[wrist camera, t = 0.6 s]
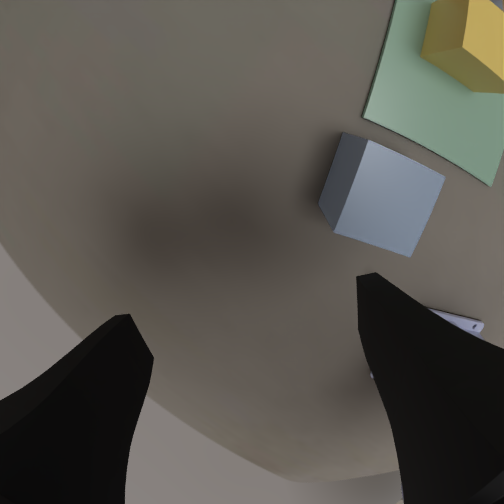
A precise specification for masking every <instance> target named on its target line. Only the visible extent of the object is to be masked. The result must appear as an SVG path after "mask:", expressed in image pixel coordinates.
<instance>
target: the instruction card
mask: <svg viewBox="0 0 504 504" xmlns="http://www.w3.org/2000/svg"><path fill="white" fill-rule="evenodd" d="M490 1H491V2H492V3H494V4H495V5H496V6H497V7H498V8H499V9H501V10H502V11H503V12H504V0H490Z"/></svg>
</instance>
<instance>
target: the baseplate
mask: <svg viewBox="0 0 504 504" xmlns="http://www.w3.org/2000/svg"><path fill="white" fill-rule="evenodd" d="M435 1H437V0H395V3H394V7H393V11H392V15H391V19H390V23H389V26H388V30H387V34H386V38H385V41H384V45H383V49H382V52H381V56H380V59H379V63H378V66H377V69H376V73H375V76H374V79H373V83H372V86H371V89H370V92H369V96H368V99H367V102H366V105H365V108H364V111H363V114H362V118H365V119H367V120H369V121H371V122H374V123H376V124H378V125H380V126H383V127H385V128H387V129H389V130H391V131H393V132H396V133H398V134H400V135H402V136H404V137H406V138H408V139H410V140H412V141H414V142H416V143H417V144H419V145H421V146H423V147H425V148H427V149H429V150H431V151H432V152H434V153H436V154H438V155H440V156H441V157H443V158H445V159H447V160H448V161H450V162H452V163H453V164H455V165H457V166H458V167H460V168H462V169H463V170H465V171H466V172H468V173H470V174H471V175H473V176H474V177H476V178H477V179H479V180H480V181H482V182H483V183H485V184H486V185H488V186H490V187H491V186H492V183H493V180H494V177H495V175H496V172H497V169H498V166H499V163H500V160H501V156H502V153H503V150H504V94H499V93H482V92H473V91H471V90H470V89H468V88H467V87H466V86H464V85H463V84H462V83H460V82H459V81H457V80H456V79H454V78H453V77H451V76H450V75H448V74H447V73H445V72H444V71H442V70H441V69H439V68H438V67H436V66H434V65H433V64H431V63H429V62H428V61H426V60H424V59H423V58H421V57H420V54H421V50H422V46H423V42H424V38H425V33H426V29H427V24H428V19H429V14H430V9H431V4H432V3H433V2H435Z"/></svg>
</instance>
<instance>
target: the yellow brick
mask: <svg viewBox="0 0 504 504" xmlns="http://www.w3.org/2000/svg"><path fill="white" fill-rule="evenodd" d="M420 57H421V58H423V59H424V60H426V61H428V62H429V63H431V64H433V65H434V66H436V67H438V68H439V69H441V70H442V71H444V72H445V73H447V74H448V75H450V76H451V77H453V78H454V79H456V80H457V81H459V82H460V83H462V84H463V85H464V86H466V87H467V88H468V89H470V90H471V91H473V92H482V93H499V94H504V12H503V11H502V10H501V9H499V8H498V7H497V6H496V5H495V4H494V3H492V2H491V1H490V0H437V1H435V2H433V3H432V4H431V9H430V14H429V19H428V24H427V29H426V33H425V38H424V42H423V46H422V50H421V54H420Z"/></svg>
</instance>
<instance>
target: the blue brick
mask: <svg viewBox="0 0 504 504" xmlns="http://www.w3.org/2000/svg"><path fill="white" fill-rule="evenodd" d="M444 180H445V176H443V175H441V174H439V173H437V172H435V171H433V170H432V169H430V168H428V167H426V166H424V165H422V164H420V163H418V162H416V161H414V160H412V159H410V158H408V157H406V156H404V155H401V154H399V153H397V152H395V151H393V150H391V149H389V148H386V147H384V146H382V145H380V144H377V143H375V142H373V141H370V140H368V139H364V138H361V137H358V136H354V135H351V134H347V133H344V132H343V133H342V136H341V139H340V142H339V145H338V148H337V151H336V154H335V157H334V160H333V163H332V165H331V168H330V171H329V174H328V177H327V180H326V182H325V185H324V188H323V191H322V194H321V196H320V199H319V202H318V205H319V207H320V208H321V210H322V212H323V214H324V216H325V217H326V219H327V221H328V223H329V225H330V227H331V229H332V230H333V232H334V233H337V234H340V235H343V236H346V237H350V238H353V239H356V240H359V241H362V242H365V243H368V244H371V245H374V246H378V247H381V248H384V249H387V250H390V251H393V252H396V253H399V254H401V255H404V256H407V257H411V255H412V253H413V251H414V249H415V247H416V245H417V243H418V241H419V238H420V236H421V234H422V232H423V230H424V228H425V226H426V223H427V221H428V219H429V217H430V214H431V212H432V210H433V207H434V205H435V202H436V200H437V198H438V195H439V193H440V190H441V188H442V185H443V183H444Z"/></svg>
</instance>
